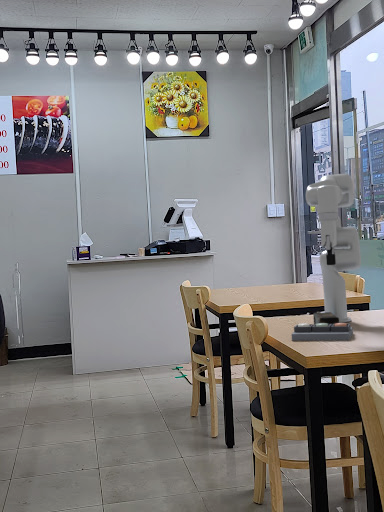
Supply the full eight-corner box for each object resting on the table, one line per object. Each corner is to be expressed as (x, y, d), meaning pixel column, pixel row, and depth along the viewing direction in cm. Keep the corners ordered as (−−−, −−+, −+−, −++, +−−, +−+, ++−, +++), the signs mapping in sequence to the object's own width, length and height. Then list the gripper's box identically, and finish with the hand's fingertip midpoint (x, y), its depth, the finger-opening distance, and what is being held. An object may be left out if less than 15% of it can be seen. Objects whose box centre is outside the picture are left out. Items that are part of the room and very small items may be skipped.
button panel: (298, 334, 252) (298, 322, 252) (352, 333, 244) (352, 322, 244) (291, 340, 239) (291, 328, 238) (348, 340, 231) (348, 328, 231)
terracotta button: (335, 328, 242) (335, 322, 242) (347, 328, 240) (347, 322, 240) (334, 330, 238) (333, 324, 238) (346, 329, 236) (345, 324, 236)
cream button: (299, 328, 247) (299, 323, 247) (310, 328, 245) (310, 323, 245) (297, 330, 243) (296, 325, 242) (308, 330, 241) (308, 325, 241)
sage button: (317, 328, 244) (317, 323, 244) (328, 328, 243) (328, 323, 243) (315, 330, 240) (315, 325, 240) (327, 330, 239) (326, 324, 238)
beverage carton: (332, 325, 269) (331, 310, 268) (340, 333, 250) (339, 316, 249) (313, 326, 269) (312, 311, 269) (320, 334, 250) (319, 317, 250)
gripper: (321, 218, 252) (324, 264, 253) (315, 218, 238) (318, 266, 239) (340, 216, 250) (343, 263, 250) (335, 216, 236) (338, 265, 236)
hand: (331, 264), depth 245 cm, fingers closed
